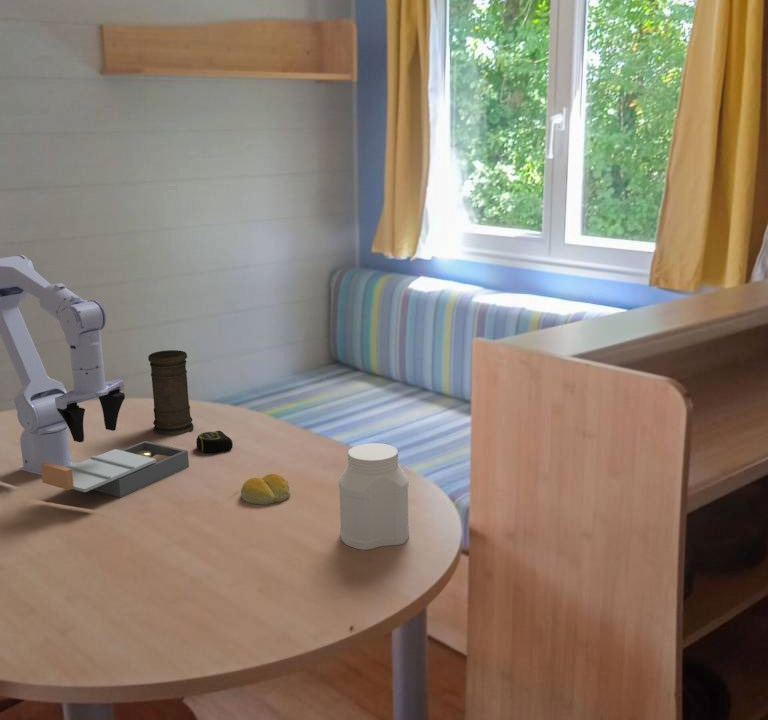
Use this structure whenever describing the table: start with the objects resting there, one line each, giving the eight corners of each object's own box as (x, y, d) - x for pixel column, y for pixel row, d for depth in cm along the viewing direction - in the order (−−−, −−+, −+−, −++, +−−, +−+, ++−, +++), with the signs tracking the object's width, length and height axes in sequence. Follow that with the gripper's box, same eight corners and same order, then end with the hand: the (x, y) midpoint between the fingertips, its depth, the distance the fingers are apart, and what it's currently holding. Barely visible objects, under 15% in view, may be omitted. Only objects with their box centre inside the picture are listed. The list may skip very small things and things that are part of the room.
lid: (35, 483, 171) (32, 461, 170) (115, 451, 187) (113, 431, 186) (77, 495, 165) (74, 473, 164) (156, 461, 181) (154, 441, 180)
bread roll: (236, 494, 176) (235, 474, 175) (281, 485, 180) (280, 466, 179) (249, 510, 169) (247, 489, 168) (296, 500, 173) (295, 480, 172)
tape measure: (234, 453, 197) (233, 437, 196) (202, 459, 194) (201, 442, 193) (223, 444, 203) (222, 428, 202) (193, 449, 200) (191, 433, 199)
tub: (77, 487, 180) (75, 468, 179) (146, 459, 195) (145, 440, 194) (121, 500, 174) (119, 480, 173) (189, 469, 188) (187, 450, 187)
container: (184, 438, 207) (178, 359, 202) (146, 436, 208) (139, 358, 204) (200, 425, 215) (194, 349, 211) (163, 423, 217) (157, 348, 212)
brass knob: (132, 466, 189) (131, 454, 188) (144, 461, 191) (143, 449, 191) (143, 469, 187) (142, 457, 187) (155, 464, 190) (154, 452, 189)
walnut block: (145, 472, 185) (144, 461, 185) (157, 466, 189) (156, 454, 188) (162, 475, 184) (161, 463, 183) (174, 468, 187) (173, 456, 187)
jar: (349, 553, 151) (346, 465, 147) (334, 529, 160) (331, 446, 156) (416, 542, 154) (415, 456, 151) (398, 519, 163) (397, 438, 159)
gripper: (69, 378, 167) (77, 450, 170) (132, 360, 178) (138, 428, 182) (44, 373, 170) (52, 443, 174) (107, 355, 182) (114, 422, 186)
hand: (95, 435), depth 178 cm, fingers open, 7 cm apart
